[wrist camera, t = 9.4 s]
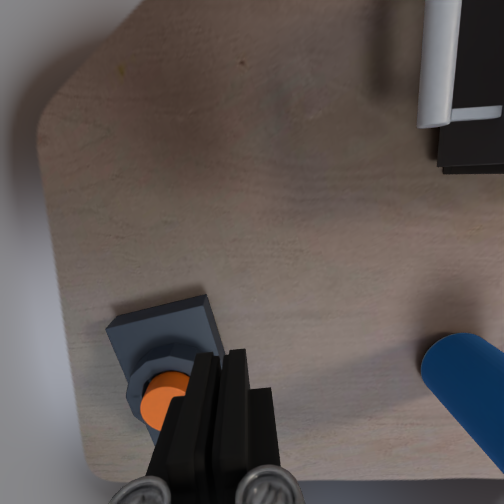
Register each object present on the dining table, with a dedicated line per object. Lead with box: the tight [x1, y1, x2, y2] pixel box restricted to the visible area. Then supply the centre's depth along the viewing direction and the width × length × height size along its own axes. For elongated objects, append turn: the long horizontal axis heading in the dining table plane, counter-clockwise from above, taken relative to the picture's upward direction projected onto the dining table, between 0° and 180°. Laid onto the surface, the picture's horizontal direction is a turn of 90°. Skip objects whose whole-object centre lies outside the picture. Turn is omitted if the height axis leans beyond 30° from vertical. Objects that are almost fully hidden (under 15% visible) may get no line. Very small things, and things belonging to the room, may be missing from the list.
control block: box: [105, 294, 225, 446], centre depth 24 cm, size 12×8×4 cm, turn 14°
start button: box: [140, 371, 190, 431], centre depth 22 cm, size 4×4×2 cm
